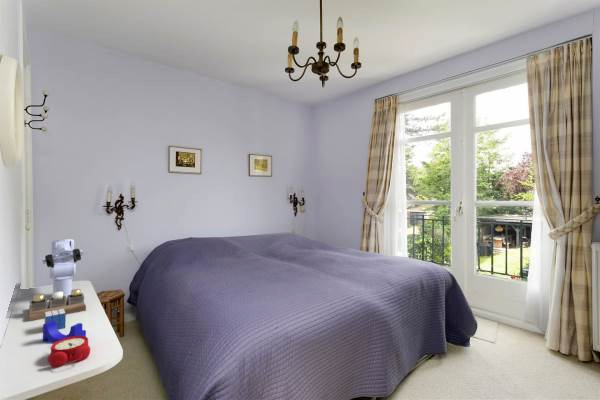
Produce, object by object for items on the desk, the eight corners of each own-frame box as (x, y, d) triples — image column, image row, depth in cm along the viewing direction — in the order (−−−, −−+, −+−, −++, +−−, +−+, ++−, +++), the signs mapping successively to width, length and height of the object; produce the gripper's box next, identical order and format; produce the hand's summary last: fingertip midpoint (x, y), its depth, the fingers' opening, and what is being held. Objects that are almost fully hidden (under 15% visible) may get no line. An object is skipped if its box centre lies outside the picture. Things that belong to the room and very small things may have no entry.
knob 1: (33, 302, 125) (33, 295, 125) (43, 300, 127) (44, 293, 127) (33, 304, 123) (33, 297, 123) (44, 303, 125) (44, 295, 125)
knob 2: (70, 296, 134) (70, 289, 133) (79, 295, 136) (80, 288, 136) (71, 298, 131) (71, 291, 131) (80, 297, 133) (81, 290, 133)
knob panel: (29, 309, 129) (29, 297, 129) (80, 300, 141) (81, 289, 141) (29, 321, 117) (29, 308, 117) (85, 310, 129) (86, 298, 129)
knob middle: (52, 299, 129) (52, 292, 129) (62, 297, 132) (62, 291, 132) (52, 301, 127) (53, 294, 127) (63, 299, 129) (63, 292, 129)
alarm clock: (88, 332, 102) (93, 338, 90) (88, 351, 101) (93, 360, 89) (48, 340, 95) (48, 348, 84) (48, 361, 94) (47, 372, 83)
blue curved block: (85, 338, 104) (86, 321, 104) (74, 345, 100) (74, 327, 100) (55, 336, 106) (55, 319, 106) (42, 342, 102) (43, 324, 102)
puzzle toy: (63, 323, 116) (64, 308, 116) (65, 328, 112) (65, 312, 112) (44, 327, 112) (44, 312, 112) (45, 332, 108) (45, 316, 108)
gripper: (41, 248, 135) (39, 258, 125) (80, 241, 144) (82, 249, 134) (44, 263, 137) (43, 274, 127) (83, 254, 146) (85, 264, 135)
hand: (63, 262), depth 130 cm, fingers open, 7 cm apart
